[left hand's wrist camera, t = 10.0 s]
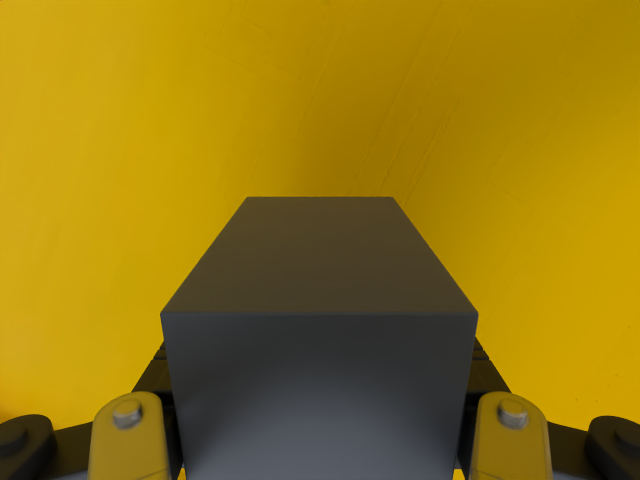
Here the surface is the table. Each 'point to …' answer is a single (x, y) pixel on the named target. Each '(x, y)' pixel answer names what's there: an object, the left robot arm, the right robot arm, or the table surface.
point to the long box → (319, 347)
